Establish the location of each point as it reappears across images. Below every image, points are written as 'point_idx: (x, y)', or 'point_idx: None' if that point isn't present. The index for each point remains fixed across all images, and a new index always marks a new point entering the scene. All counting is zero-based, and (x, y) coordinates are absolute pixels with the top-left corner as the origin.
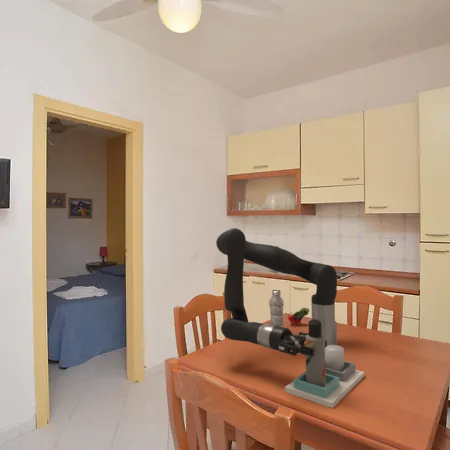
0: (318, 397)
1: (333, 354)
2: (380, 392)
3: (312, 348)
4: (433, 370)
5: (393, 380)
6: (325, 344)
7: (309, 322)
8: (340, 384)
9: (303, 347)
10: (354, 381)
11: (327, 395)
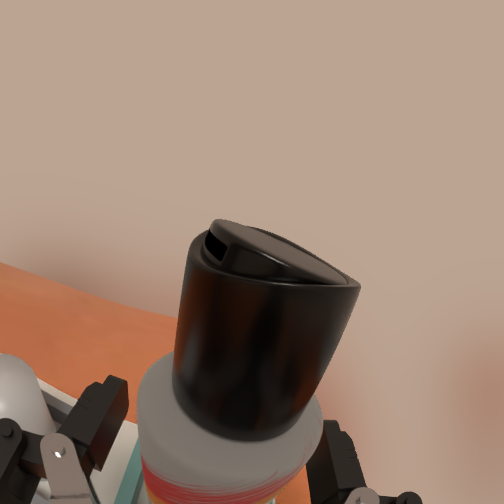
0: None
1: (41, 409)
2: (114, 368)
3: (330, 421)
4: (14, 277)
5: (48, 334)
6: (127, 395)
7: (355, 284)
8: (131, 446)
9: (349, 476)
10: None
11: None
